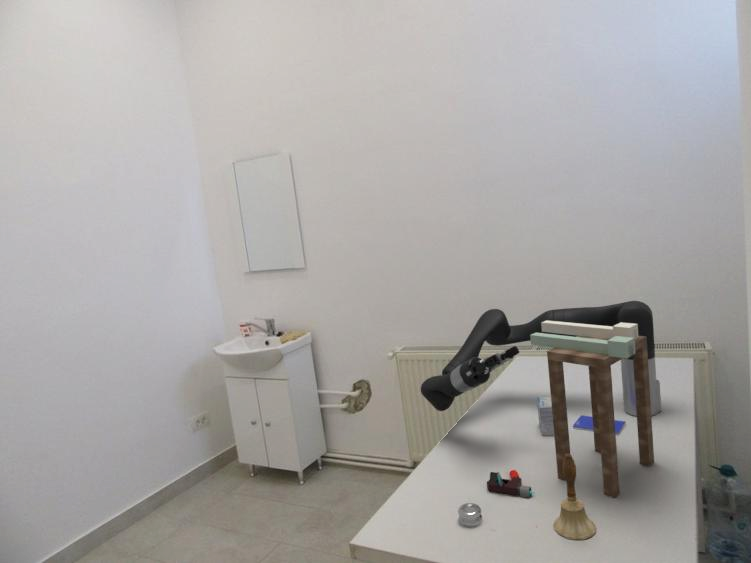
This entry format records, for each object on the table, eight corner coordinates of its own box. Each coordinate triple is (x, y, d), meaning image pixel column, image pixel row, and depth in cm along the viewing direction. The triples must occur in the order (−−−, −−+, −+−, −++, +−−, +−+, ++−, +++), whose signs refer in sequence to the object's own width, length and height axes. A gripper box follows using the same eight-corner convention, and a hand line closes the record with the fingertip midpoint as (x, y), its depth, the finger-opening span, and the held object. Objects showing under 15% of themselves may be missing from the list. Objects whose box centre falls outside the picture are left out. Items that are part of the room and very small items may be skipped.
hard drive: (572, 425, 153) (618, 432, 146) (581, 414, 160) (625, 420, 152) (573, 430, 154) (618, 437, 146) (581, 419, 160) (625, 425, 152)
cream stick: (540, 332, 141) (539, 319, 141) (548, 328, 144) (547, 316, 143) (630, 342, 123) (629, 327, 122) (638, 338, 125) (637, 323, 125)
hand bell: (545, 521, 112) (539, 451, 110) (580, 512, 114) (574, 442, 112) (568, 544, 104) (562, 469, 102) (605, 533, 106) (599, 459, 104)
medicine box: (558, 435, 150) (555, 406, 149) (541, 436, 151) (539, 407, 150) (554, 423, 158) (552, 396, 157) (539, 424, 159) (536, 397, 158)
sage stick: (529, 345, 130) (528, 331, 130) (538, 341, 133) (537, 327, 133) (626, 358, 112) (625, 342, 112) (635, 353, 115) (634, 337, 114)
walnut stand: (558, 478, 128) (546, 351, 124) (599, 447, 141) (590, 330, 136) (614, 498, 117) (604, 359, 113) (654, 462, 130) (646, 336, 125)
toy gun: (533, 502, 121) (531, 482, 120) (482, 493, 127) (480, 475, 126) (542, 480, 129) (541, 462, 128) (494, 474, 135) (492, 456, 134)
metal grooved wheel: (484, 525, 114) (479, 512, 119) (483, 513, 113) (477, 500, 118) (461, 529, 114) (457, 515, 119) (460, 516, 113) (455, 503, 118)
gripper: (492, 379, 153) (530, 359, 141) (459, 395, 144) (497, 374, 132) (479, 356, 155) (516, 334, 143) (446, 370, 146) (482, 347, 134)
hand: (507, 353), depth 138 cm, fingers open, 8 cm apart
